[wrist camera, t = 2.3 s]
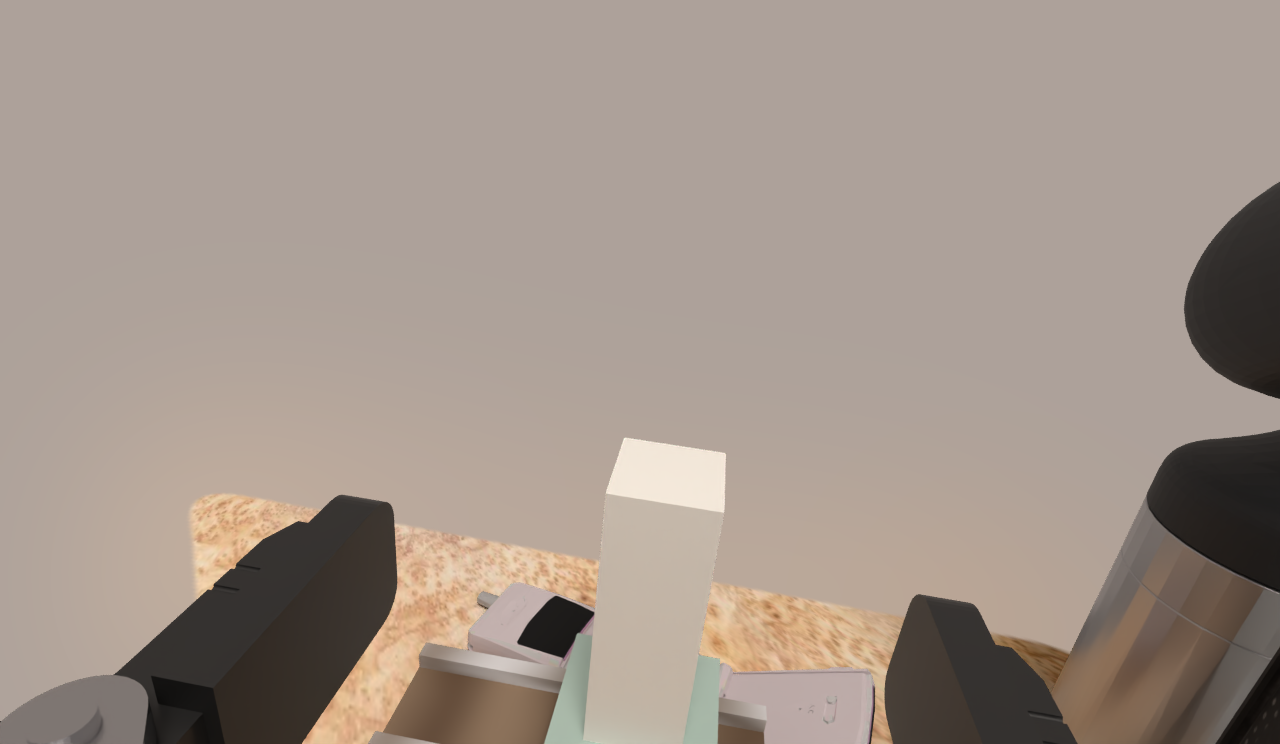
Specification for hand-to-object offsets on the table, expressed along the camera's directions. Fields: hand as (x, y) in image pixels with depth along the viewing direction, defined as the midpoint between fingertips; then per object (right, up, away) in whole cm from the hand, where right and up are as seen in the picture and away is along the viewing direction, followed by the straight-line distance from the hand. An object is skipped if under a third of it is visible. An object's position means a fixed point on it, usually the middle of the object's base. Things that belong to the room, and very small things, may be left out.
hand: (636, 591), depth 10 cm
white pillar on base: (0, -13, +19) cm, 23 cm away
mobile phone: (0, -17, +29) cm, 33 cm away
